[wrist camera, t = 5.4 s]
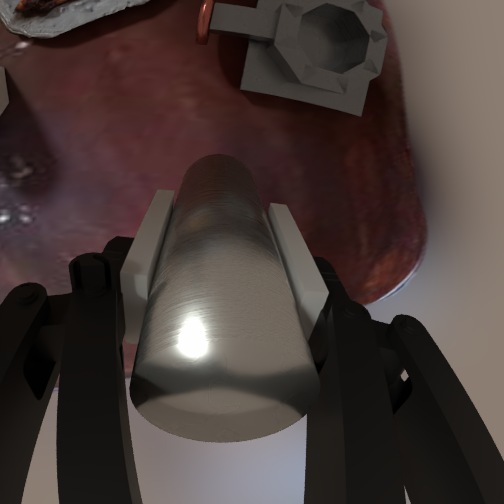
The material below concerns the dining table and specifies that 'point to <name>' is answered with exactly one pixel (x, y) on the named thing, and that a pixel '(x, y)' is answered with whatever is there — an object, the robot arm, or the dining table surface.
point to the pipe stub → (221, 318)
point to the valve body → (304, 47)
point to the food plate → (55, 14)
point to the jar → (3, 91)
